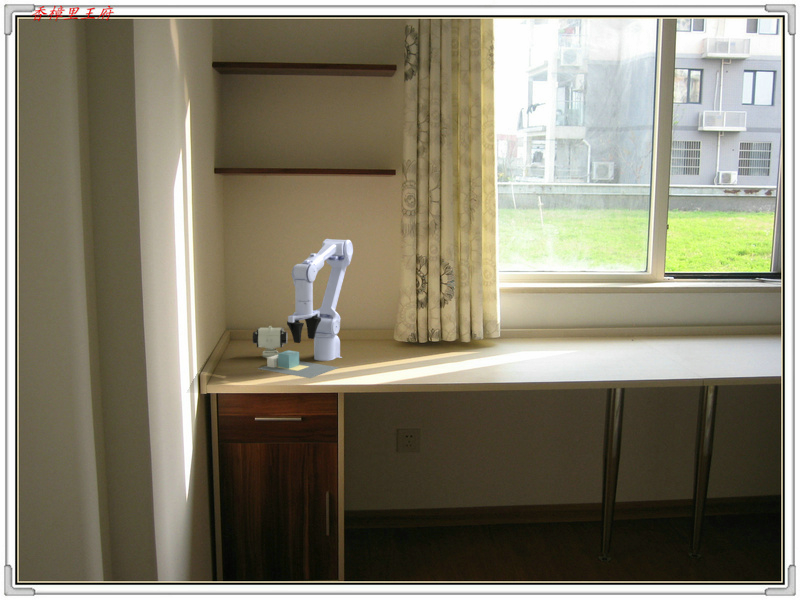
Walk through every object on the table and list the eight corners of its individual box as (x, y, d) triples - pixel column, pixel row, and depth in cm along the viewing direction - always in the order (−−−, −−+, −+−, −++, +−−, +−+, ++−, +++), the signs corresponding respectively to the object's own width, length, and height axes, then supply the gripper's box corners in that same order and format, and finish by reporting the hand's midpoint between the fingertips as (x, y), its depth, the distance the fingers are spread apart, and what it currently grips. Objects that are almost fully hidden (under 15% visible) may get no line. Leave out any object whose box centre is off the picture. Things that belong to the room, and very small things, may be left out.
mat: (287, 361, 244) (287, 358, 244) (339, 369, 233) (339, 367, 233) (257, 370, 230) (257, 368, 230) (310, 380, 219) (310, 377, 219)
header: (282, 361, 240) (282, 352, 239) (296, 364, 237) (296, 355, 236) (267, 366, 233) (267, 357, 232) (281, 368, 230) (281, 359, 230)
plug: (288, 363, 237) (288, 350, 236) (299, 365, 235) (299, 352, 234) (278, 366, 232) (278, 353, 232) (289, 368, 230) (288, 355, 229)
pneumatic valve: (255, 357, 249) (254, 324, 247) (287, 357, 249) (287, 324, 248) (252, 361, 243) (251, 327, 242) (286, 361, 244) (285, 327, 242)
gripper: (307, 296, 237) (308, 335, 240) (280, 301, 225) (280, 343, 227) (324, 298, 234) (324, 337, 236) (297, 303, 222) (298, 345, 224)
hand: (304, 340), depth 231 cm, fingers open, 7 cm apart
